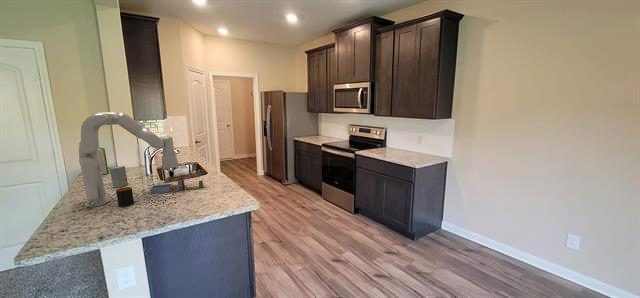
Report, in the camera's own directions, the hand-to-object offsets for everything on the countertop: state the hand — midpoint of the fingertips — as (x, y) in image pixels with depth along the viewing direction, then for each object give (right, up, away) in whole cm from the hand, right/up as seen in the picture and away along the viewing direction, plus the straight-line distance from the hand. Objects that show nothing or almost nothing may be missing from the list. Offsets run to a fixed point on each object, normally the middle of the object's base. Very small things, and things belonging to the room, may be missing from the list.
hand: (171, 176), depth 207 cm
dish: (-3, -10, -8) cm, 13 cm away
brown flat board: (+10, 0, -1) cm, 10 cm away
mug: (-10, -15, -34) cm, 39 cm away
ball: (+19, +3, -4) cm, 20 cm away
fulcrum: (+10, -9, -4) cm, 14 cm away
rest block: (+23, -8, -1) cm, 24 cm away
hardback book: (-90, -2, +43) cm, 99 cm away
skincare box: (-43, -9, +5) cm, 44 cm away
